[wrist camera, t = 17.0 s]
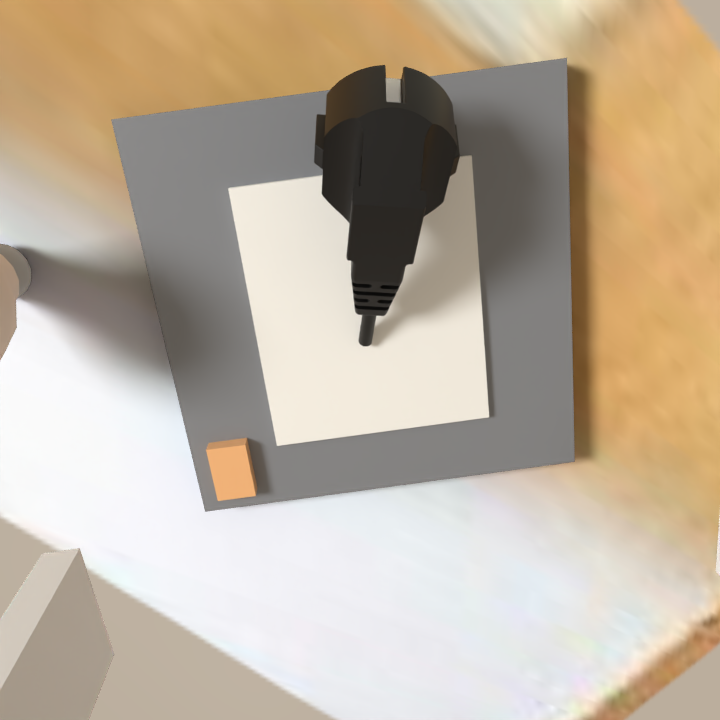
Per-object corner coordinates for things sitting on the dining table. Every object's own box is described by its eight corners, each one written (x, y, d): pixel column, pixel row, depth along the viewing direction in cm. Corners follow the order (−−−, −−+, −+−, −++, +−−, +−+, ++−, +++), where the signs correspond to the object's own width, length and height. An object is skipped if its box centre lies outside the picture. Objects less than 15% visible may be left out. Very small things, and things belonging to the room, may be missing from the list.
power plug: (306, 351, 32) (312, 144, 22) (313, 236, 37) (321, 18, 27) (423, 357, 33) (481, 156, 23) (417, 242, 37) (463, 30, 27)
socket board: (121, 119, 31) (105, 119, 29) (555, 60, 31) (573, 56, 29) (209, 496, 38) (202, 519, 36) (565, 448, 38) (579, 469, 36)
